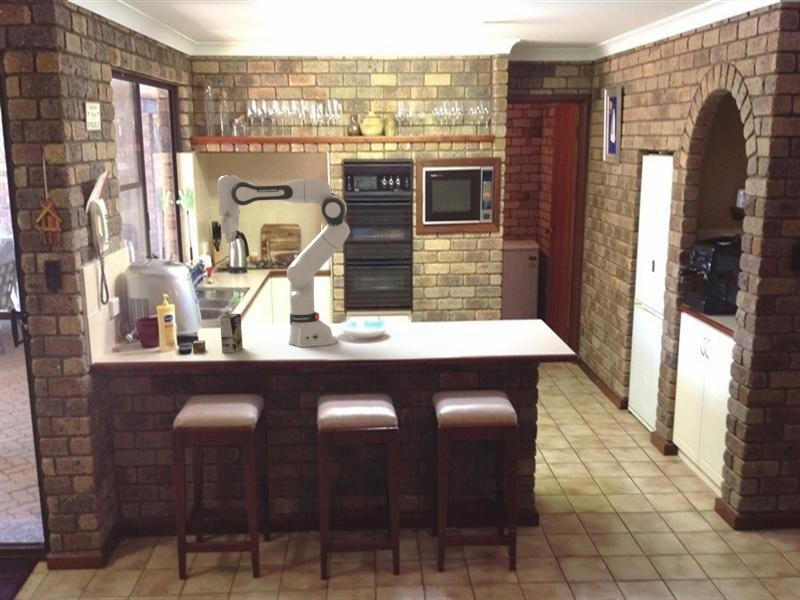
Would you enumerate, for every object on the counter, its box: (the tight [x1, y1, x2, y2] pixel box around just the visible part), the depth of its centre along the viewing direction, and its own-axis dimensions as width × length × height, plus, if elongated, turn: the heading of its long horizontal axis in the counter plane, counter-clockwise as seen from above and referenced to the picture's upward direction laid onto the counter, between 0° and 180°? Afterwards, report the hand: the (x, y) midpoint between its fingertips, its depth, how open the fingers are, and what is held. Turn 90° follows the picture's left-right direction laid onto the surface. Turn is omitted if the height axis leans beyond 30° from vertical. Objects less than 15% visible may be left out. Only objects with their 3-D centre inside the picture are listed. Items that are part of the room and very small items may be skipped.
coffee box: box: [219, 313, 244, 354], centre depth 332 cm, size 9×6×16 cm
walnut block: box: [192, 339, 207, 354], centre depth 333 cm, size 4×4×4 cm
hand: (231, 241), depth 336 cm, fingers open, 8 cm apart
